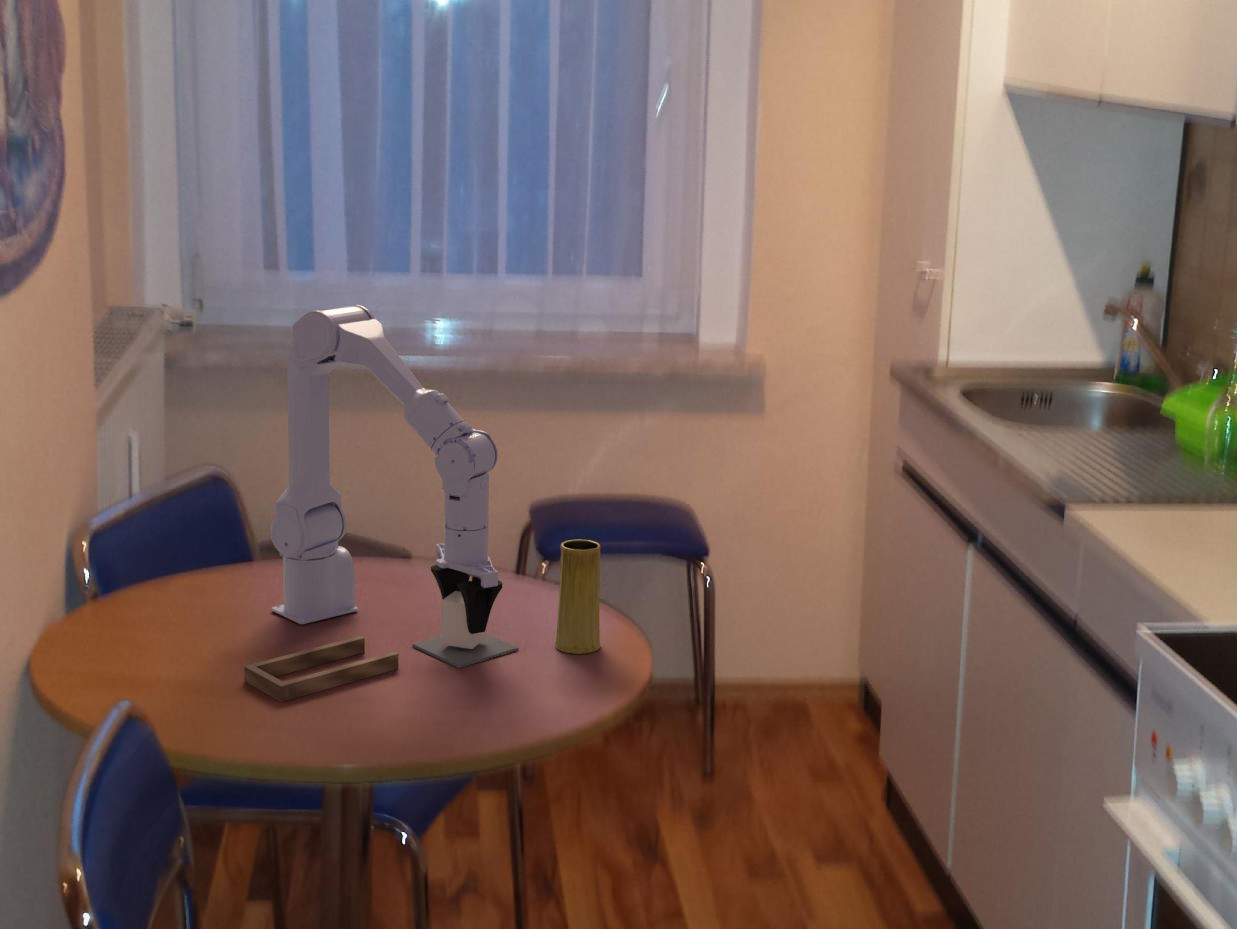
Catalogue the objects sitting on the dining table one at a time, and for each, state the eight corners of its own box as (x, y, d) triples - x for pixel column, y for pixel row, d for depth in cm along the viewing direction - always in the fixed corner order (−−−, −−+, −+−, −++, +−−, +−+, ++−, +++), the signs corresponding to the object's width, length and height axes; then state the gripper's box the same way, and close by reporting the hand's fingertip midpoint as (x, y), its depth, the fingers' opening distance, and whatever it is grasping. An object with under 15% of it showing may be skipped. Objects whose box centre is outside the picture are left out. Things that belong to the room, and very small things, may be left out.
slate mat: (471, 630, 196) (471, 627, 196) (518, 650, 189) (518, 647, 189) (412, 646, 189) (412, 643, 189) (458, 668, 182) (459, 665, 182)
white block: (455, 633, 191) (455, 590, 190) (485, 637, 190) (486, 595, 189) (440, 644, 187) (440, 600, 186) (472, 649, 186) (472, 605, 184)
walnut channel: (360, 650, 187) (360, 635, 187) (398, 668, 181) (398, 653, 181) (244, 681, 175) (244, 666, 175) (281, 702, 170) (280, 686, 169)
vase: (610, 647, 191) (613, 545, 188) (577, 658, 187) (580, 554, 183) (577, 635, 195) (580, 535, 192) (545, 646, 191) (547, 544, 187)
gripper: (414, 515, 189) (415, 612, 192) (462, 543, 177) (462, 646, 180) (463, 509, 193) (462, 604, 196) (513, 536, 181) (511, 637, 184)
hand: (465, 624), depth 188 cm, fingers closed on white block, 6 cm apart
